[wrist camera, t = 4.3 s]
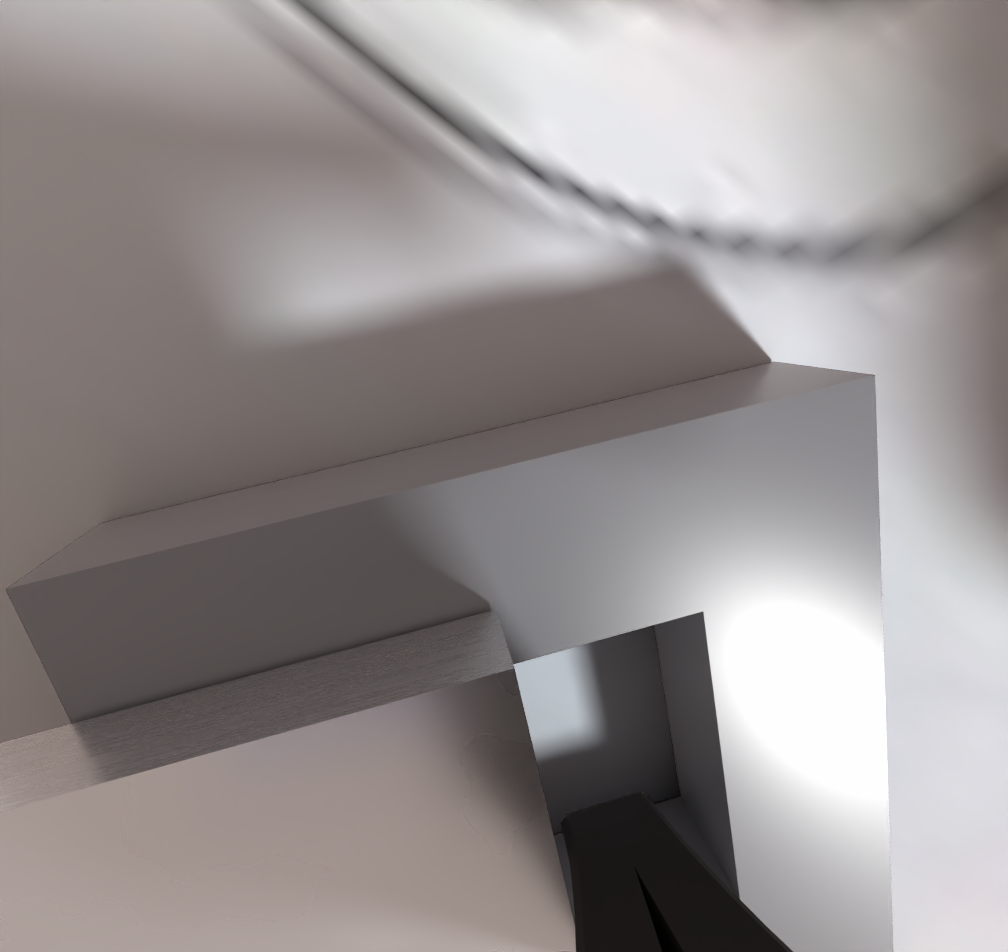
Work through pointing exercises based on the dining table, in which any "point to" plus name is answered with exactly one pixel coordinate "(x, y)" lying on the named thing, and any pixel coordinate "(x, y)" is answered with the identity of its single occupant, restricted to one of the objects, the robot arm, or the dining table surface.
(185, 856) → the panel
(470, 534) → the socket plate
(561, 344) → the dining table surface
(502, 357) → the dining table surface
